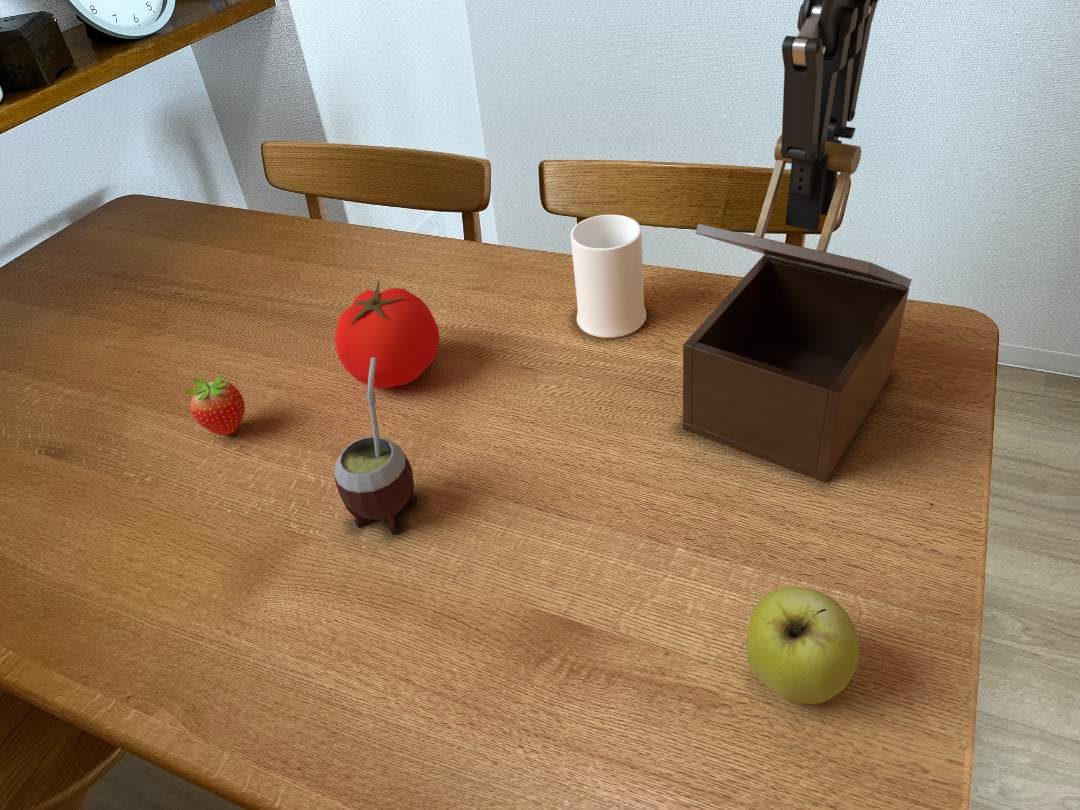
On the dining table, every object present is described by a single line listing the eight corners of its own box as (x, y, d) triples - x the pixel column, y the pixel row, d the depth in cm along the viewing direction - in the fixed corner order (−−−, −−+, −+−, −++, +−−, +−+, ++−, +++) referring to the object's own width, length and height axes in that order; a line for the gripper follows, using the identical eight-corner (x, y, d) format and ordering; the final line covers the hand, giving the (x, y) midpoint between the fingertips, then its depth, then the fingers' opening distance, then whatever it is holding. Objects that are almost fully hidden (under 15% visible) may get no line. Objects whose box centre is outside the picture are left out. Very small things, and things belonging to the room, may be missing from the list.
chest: (825, 482, 76) (840, 394, 69) (682, 429, 83) (682, 344, 76) (890, 375, 86) (909, 288, 79) (757, 336, 93) (764, 253, 86)
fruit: (240, 411, 94) (214, 357, 89) (263, 429, 91) (238, 374, 86) (199, 437, 91) (169, 382, 86) (222, 456, 88) (193, 401, 83)
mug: (599, 280, 106) (593, 197, 98) (662, 289, 103) (661, 203, 95) (566, 332, 98) (556, 246, 90) (633, 343, 95) (629, 254, 87)
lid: (868, 274, 63) (910, 148, 61) (694, 233, 70) (726, 120, 68) (908, 288, 78) (943, 189, 76) (763, 253, 86) (791, 162, 84)
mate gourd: (362, 551, 76) (315, 436, 66) (341, 498, 81) (295, 384, 72) (436, 520, 78) (401, 403, 68) (410, 469, 83) (375, 355, 73)
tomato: (421, 333, 102) (401, 256, 94) (464, 378, 94) (446, 298, 86) (333, 372, 97) (305, 295, 90) (370, 422, 90) (343, 342, 82)
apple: (818, 600, 65) (850, 556, 57) (856, 702, 61) (897, 670, 52) (722, 620, 65) (740, 578, 56) (754, 723, 61) (778, 695, 52)
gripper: (834, -115, 61) (801, 174, 77) (746, -65, 53) (730, 250, 68) (937, -116, 58) (882, 188, 73) (862, -62, 49) (816, 271, 64)
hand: (808, 217), depth 71 cm, fingers closed on lid, 2 cm apart
